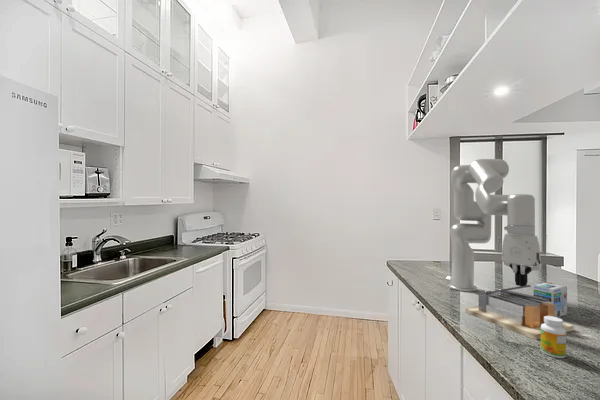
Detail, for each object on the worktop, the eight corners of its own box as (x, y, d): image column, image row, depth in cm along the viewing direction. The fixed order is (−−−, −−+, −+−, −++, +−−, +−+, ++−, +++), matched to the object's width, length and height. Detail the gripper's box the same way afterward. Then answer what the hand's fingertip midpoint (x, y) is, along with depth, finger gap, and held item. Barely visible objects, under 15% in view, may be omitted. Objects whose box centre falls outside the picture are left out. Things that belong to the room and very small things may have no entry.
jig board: (465, 312, 113) (465, 308, 113) (500, 306, 121) (500, 302, 121) (536, 339, 91) (536, 334, 91) (573, 330, 99) (573, 325, 99)
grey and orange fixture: (478, 310, 112) (478, 293, 112) (503, 305, 117) (503, 289, 117) (530, 329, 95) (530, 309, 95) (556, 322, 101) (556, 304, 101)
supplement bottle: (535, 349, 85) (535, 314, 85) (552, 348, 86) (553, 314, 86) (552, 359, 80) (553, 322, 80) (571, 358, 80) (571, 322, 80)
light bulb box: (553, 319, 108) (554, 289, 108) (532, 312, 114) (532, 284, 114) (567, 314, 113) (568, 285, 113) (546, 308, 119) (546, 281, 119)
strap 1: (484, 295, 111) (483, 291, 112) (489, 294, 112) (488, 291, 113) (526, 288, 98) (524, 284, 98) (531, 287, 99) (530, 283, 100)
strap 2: (498, 292, 114) (498, 289, 114) (503, 291, 115) (503, 288, 116) (544, 302, 100) (544, 299, 100) (549, 301, 101) (549, 298, 101)
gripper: (491, 229, 107) (491, 281, 106) (538, 232, 93) (539, 292, 92) (505, 229, 109) (505, 279, 109) (553, 232, 96) (553, 290, 95)
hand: (521, 285), depth 101 cm, fingers closed
